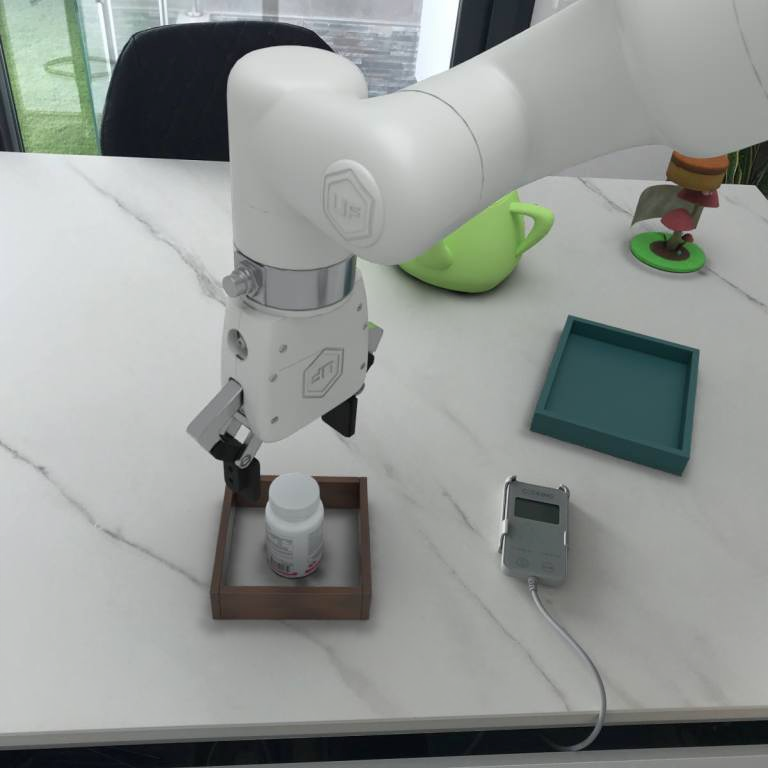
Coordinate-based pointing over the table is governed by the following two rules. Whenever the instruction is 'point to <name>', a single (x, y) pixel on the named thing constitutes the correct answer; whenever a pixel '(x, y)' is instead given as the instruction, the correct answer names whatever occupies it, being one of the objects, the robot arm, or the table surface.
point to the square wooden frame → (294, 598)
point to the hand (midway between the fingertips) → (292, 457)
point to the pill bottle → (294, 525)
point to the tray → (621, 394)
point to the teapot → (483, 247)
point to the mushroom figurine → (678, 212)
